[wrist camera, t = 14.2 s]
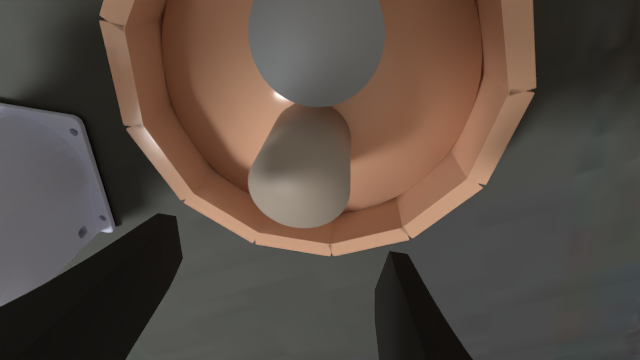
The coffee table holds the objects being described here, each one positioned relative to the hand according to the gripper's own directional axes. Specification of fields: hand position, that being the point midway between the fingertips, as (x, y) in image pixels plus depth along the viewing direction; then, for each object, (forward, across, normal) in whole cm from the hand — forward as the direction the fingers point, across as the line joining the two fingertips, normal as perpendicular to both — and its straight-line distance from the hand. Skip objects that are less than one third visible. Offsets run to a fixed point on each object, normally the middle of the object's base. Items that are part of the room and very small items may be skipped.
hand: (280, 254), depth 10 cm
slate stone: (+8, 0, -6) cm, 10 cm away
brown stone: (+8, 0, 0) cm, 8 cm away
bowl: (+9, 0, -3) cm, 10 cm away
